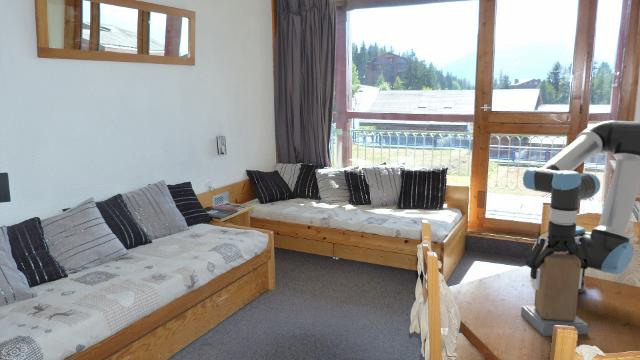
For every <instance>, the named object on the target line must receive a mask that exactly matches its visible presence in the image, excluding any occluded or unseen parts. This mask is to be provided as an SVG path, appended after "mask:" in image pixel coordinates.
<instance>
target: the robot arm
mask: <svg viewBox="0 0 640 360" xmlns="http://www.w3.org/2000/svg"><path fill="white" fill-rule="evenodd" d="M604 152H605V153H613V158H614V160H616V162H615V165H614V169H613V173H612V177H611V180H610V185H609V188H608V191H607V194H606V198H605V202H604V203H603V204H604V205H603V208H602V212H601V215H600V219H599V221H598V222H599V223H598V225H597V226H595V227H593V228H592V229H591V232H590V233H587V230H586V229H585V227H583V226H580V225H577V224H576V223H577V221H578V208H579V200H583V199H589V198H591V197H593V196H594V195H596V194H598V192H599V191H600V189H601V182H600V180H599V177H597V176H596V175H595V174H593V173H589V172H586V173H585V172H583V173H580V172H579V171H574V170H576V169H577V168H578V167H579V166H580V165H581V164H583V163H584V162H585V161H587V160H588V159H589V158H590V157H591V156H592V157H593V156H596V155H598V154H600V153H604ZM522 181H523V182H522V184H523V186H524V188H526V189H527V190H532V191H535V192H541V193H548V194H550V195H551V196H550V204H549V205H550V207H549V218H548V219H549V221H548V227H547V233H548V234H547V237H542V236H537V238H536V242H535V245H534V247H533V249H532V250H531V252H530V253H529V255H528V257H527V259H526V261H525V263H524V264H525V265H526V267H528V268H530V278H531V279H532V282H531V283H532V284H531V287H532V288H533V289H535V291H536V290H539V281H540V269H538V268H539V267H540V266H541V265H542V264H543V263H544V258H545V257H546V256H549V255H551V254H553V253H554V252H555V251H556V252H561V251H562V252H566V251H568V252H569V253H571V254H573V255H576V256H577V257H578V258H579V259H580V260H581V269H580V279H579V288H578V295H579V294H582V293H583V292H585V286H586V285H585V279H584V277H585V271H586V270H587V269H588V268H589V269H592V270H595V271H600V272H602V273H605V274H606V273H607V274H612V275H620V274H622V273H623V272H624V271H625V270H627V268H628V267H629V265H630V264H631V261H632V259H633V255H634V249H635V248H634V246H633V244H632V243H630V239H631V238H630V235H628V233H627V231H628V228H629V225H630V221H631V217H632V214H633V210H634V207H635V203H636V199H637V195H638V193H639V189H640V121H629V120H615V119H613V120H612V119H611V120H605V121H602V122H599V123H596V124H594V125H591V126H589V127H587V128H585V129H584V130H582V131H581V132H579V133H578V134H577V135H576V137H575V140H573V142H571V143H570V144H569V145H567V146H566V147H565V148H563V149H562V150H561V151H560V152H558V153H557V154H555V155H554V156H553V157H551V159H549V160H548V161H547V162H545V163H544V164H543V165H542V166H540V167H528V168H527V169H526V170H525V171H524V173H523V176H522ZM542 249H544V250H543V251H542ZM541 251H542V253H541ZM540 253H541V254H540Z"/></svg>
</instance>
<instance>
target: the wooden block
mask: <svg viewBox="0 0 640 360" xmlns="http://www.w3.org/2000/svg"><path fill="white" fill-rule="evenodd" d="M544 249H545V248H543V249H542V251H543V250H544ZM542 251H541V253H542ZM541 253H540V254H541ZM538 269H540V281H539V290H536V289H535V293H534V295H535V296H534V304H533V306H535V307H536V309H537V311H538V313H539V315H540V316H541V318H543V319H549V320H561V321H574V320H575V317H576V315H577V307H578V306H577V305H578V297H579V296H578V295H579V294H578V288H579V279H580V269H581V260H580V259H579V258H578V257H577V256H576V255H573V254H571V253H569V252H568V251H566V252H562V251H561V252H556V251H555V252H554V253H553V254H551V255H549V256H546V257H545V258H544V263H543V264H542V265H541V266H540V267H539V268H538Z"/></svg>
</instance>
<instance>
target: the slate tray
mask: <svg viewBox="0 0 640 360" xmlns="http://www.w3.org/2000/svg"><path fill="white" fill-rule="evenodd" d="M520 315H521V316H522V317H523V319H525V321H527V322H528V323H529V324H530V325H531V326H532V327H533V328H534V329H536V330H537V332H538V333H540V335H541V336H543V337H545V336H547V337H549V336H553V335H552V333H553V326H554V325H568V326H574V327H575V328H576V329H577V331H578V334H577V335H587V334H588V332H589V324H588V323H587V322H586V321H584V320H583V319H582V318H580V317H579V316H578V315H577V314H576V317H575V320H574V321H561V320H549V319H543V318H541V316H540V315H539V313H538V311H537V309H536V307H535V305H521V310H520Z"/></svg>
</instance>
